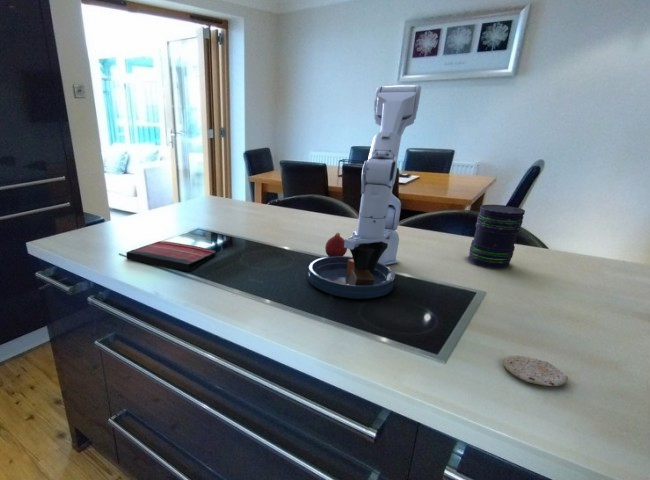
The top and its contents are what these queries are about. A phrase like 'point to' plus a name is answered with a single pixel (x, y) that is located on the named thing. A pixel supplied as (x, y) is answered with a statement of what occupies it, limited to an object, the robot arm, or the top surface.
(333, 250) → the onion
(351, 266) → the terracotta block
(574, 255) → the top surface
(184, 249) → the binder
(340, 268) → the bowl
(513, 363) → the flatbread
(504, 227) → the storage jar
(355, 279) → the walnut block
